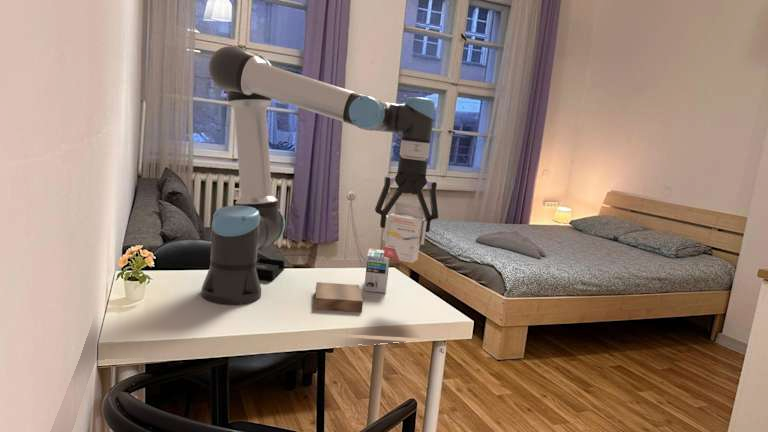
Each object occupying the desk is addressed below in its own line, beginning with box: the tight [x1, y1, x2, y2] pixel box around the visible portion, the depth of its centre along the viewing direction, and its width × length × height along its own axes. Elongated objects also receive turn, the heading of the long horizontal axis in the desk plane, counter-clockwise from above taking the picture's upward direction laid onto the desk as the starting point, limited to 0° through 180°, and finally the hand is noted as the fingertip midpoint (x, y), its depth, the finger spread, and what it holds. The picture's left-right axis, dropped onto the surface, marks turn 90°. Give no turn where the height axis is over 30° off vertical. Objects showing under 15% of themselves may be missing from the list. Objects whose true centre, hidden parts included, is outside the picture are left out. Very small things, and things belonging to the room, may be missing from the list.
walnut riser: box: [314, 281, 364, 313], centre depth 141 cm, size 12×14×3 cm
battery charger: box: [256, 256, 285, 283], centre depth 159 cm, size 13×10×4 cm
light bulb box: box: [363, 248, 390, 294], centre depth 158 cm, size 11×7×11 cm, turn 179°
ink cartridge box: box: [384, 201, 424, 264], centre depth 140 cm, size 9×5×15 cm, turn 71°
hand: (402, 241), depth 140 cm, fingers closed on ink cartridge box, 9 cm apart
